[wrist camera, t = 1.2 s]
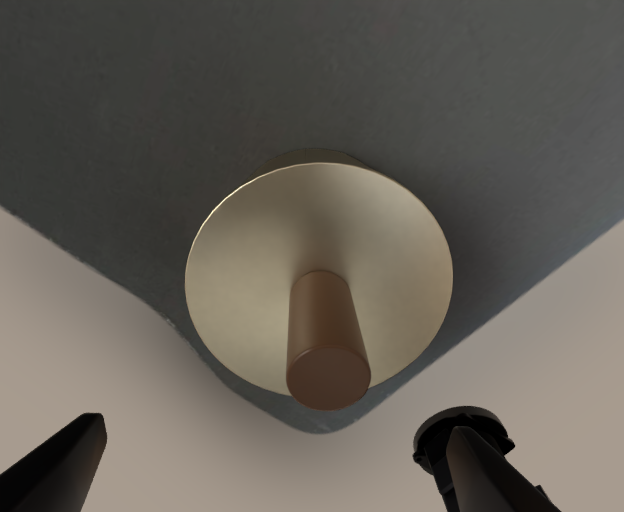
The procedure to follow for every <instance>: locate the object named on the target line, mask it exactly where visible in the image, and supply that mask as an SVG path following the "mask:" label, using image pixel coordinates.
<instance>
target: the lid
mask: <svg viewBox="0 0 624 512" xmlns="http://www.w3.org/2000/svg"><path fill="white" fill-rule="evenodd" d="M452 284H453V269H452V259H451V255H450V251H449V246H448V243H447V241H446V238H445V236H444V234H443V231H442V229H441V227H440V226H439V224H438V222H437V221H436V219H435V217H434V216H433V214H432V213H431V212H430V211H429V210H428V208H427V207H426V206H425V205H424V204H423V202H422V201H420V200H419V199H418V198H417V197H416V196H415V195H414V194H413V193H412V192H410V191H409V190H408V189H407V188H406V187H404V186H403V185H401V184H400V183H398V182H397V181H395V180H394V179H392V178H391V177H389V176H386V175H384V174H382V173H380V172H378V171H376V170H374V169H371V168H367V167H364V166H361V165H358V164H354V163H348V162H341V161H332V160H312V161H302V162H295V163H291V164H287V165H282V166H278V167H275V168H273V169H270V170H268V171H265V172H263V173H260V174H258V175H256V176H254V177H253V178H251V179H249V180H247V181H245V182H244V183H242V184H241V185H239V186H238V187H237V188H235V189H234V190H233V191H231V192H230V193H229V194H228V195H227V196H226V197H225V198H224V199H223V200H222V201H221V202H220V203H219V204H218V205H217V206H216V207H215V208H214V209H213V210H212V212H211V213H210V215H209V216H208V217H207V219H206V220H205V221H204V223H203V224H202V226H201V228H200V229H199V231H198V233H197V235H196V237H195V239H194V241H193V244H192V247H191V250H190V253H189V255H188V261H187V266H186V271H185V292H186V300H187V305H188V309H189V312H190V316H191V319H192V321H193V324H194V326H195V328H196V330H197V332H198V334H199V336H200V337H201V339H202V341H203V342H204V344H205V345H206V346H207V348H208V349H209V350H210V351H211V353H212V354H213V355H214V356H215V357H216V358H217V359H218V360H219V361H220V362H221V363H222V364H223V365H224V366H226V367H227V368H228V369H230V370H231V371H232V372H234V373H235V374H236V375H238V376H240V377H241V378H243V379H245V380H247V381H248V382H250V383H252V384H255V385H257V386H259V387H261V388H264V389H267V390H270V391H273V392H276V393H280V394H285V395H290V396H293V398H294V399H295V400H296V401H297V402H299V403H300V404H302V405H303V406H305V407H307V408H310V409H313V410H318V411H336V410H340V409H344V408H346V407H349V406H351V405H353V404H354V403H356V402H357V401H359V400H360V399H361V398H362V397H363V396H364V394H365V393H366V392H367V390H368V388H370V387H372V386H375V385H377V384H380V383H382V382H384V381H385V380H387V379H389V378H391V377H393V376H394V375H396V374H397V373H399V372H400V371H402V370H403V369H405V368H406V367H407V366H408V365H410V364H411V363H412V362H413V361H414V360H415V359H416V358H418V357H419V355H420V354H421V353H422V352H423V351H424V350H425V349H426V348H427V347H428V345H429V344H430V342H431V341H432V340H433V338H434V337H435V335H436V334H437V332H438V330H439V328H440V326H441V325H442V323H443V321H444V318H445V315H446V313H447V310H448V307H449V303H450V299H451V294H452Z"/></svg>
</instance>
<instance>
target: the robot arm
mask: <svg viewBox="0 0 624 512" xmlns="http://www.w3.org/2000/svg"><path fill="white" fill-rule="evenodd" d="M106 443H107V433H106V428H105V423H104V418H103V415H102V414H100V413H84V414H82V415H80V416H79V417H77V418H76V419H75V420H73V421H72V422H71V423H69V424H68V425H67V426H65V427H64V428H62V429H61V430H60V431H59V432H57V433H56V434H54V435H53V436H52V437H50V438H49V439H48V440H46V441H45V442H44V443H42V444H41V445H40V446H38V447H37V448H35V449H34V450H33V451H31V452H30V453H29V454H27V455H26V456H25V457H23V458H22V459H21V460H19V461H18V462H17V463H15V464H14V465H12V466H11V467H10V468H8V469H7V470H6V471H4V472H3V473H2V474H0V512H80V511H81V509H82V506H83V504H84V502H85V499H86V497H87V494H88V491H89V489H90V486H91V483H92V481H93V478H94V476H95V473H96V470H97V468H98V465H99V462H100V460H101V457H102V454H103V452H104V449H105V447H106ZM514 448H515V444H514V442H513V440H512V439H510V438H508V437H507V436H505V435H503V434H501V433H500V432H498V431H496V430H495V429H493V428H491V427H490V426H488V425H486V424H484V423H483V422H481V421H479V420H478V419H476V418H474V417H472V416H471V415H469V414H467V413H460V414H458V415H457V416H456V417H455V418H454V419H453V420H451V421H450V422H449V423H448V424H447V425H446V426H445V427H443V428H442V429H441V430H440V431H439V432H438V433H436V434H435V435H434V436H433V437H432V438H431V439H429V440H428V441H427V442H426V443H425V444H424V445H423V446H421V447H420V448H419V449H418V450H417V451H416V452H414V453H413V455H412V457H413V460H414V462H415V463H417V464H419V465H421V466H423V467H425V468H427V469H429V470H431V471H432V473H433V476H434V478H435V481H436V484H437V487H438V490H439V493H440V494H441V495H442V498H443V500H444V503H445V506H446V509H447V512H561V511H560V510H559V509H558V508H557V507H556V506H555V505H554V504H553V503H552V502H551V500H550V499H549V497H548V496H547V494H546V493H545V491H544V490H543V488H542V487H541V485H538V486H536V487H534V486H533V485H532V484H531V483H530V482H529V481H528V480H527V479H526V478H525V477H524V476H522V475H521V474H520V473H519V472H518V471H517V470H516V469H515V468H514V467H513V466H512V465H511V464H510V463H509V462H508V461H507V460H506V458H505V455H506V454H507V453H509V452H510V451H511V450H513V449H514Z"/></svg>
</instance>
